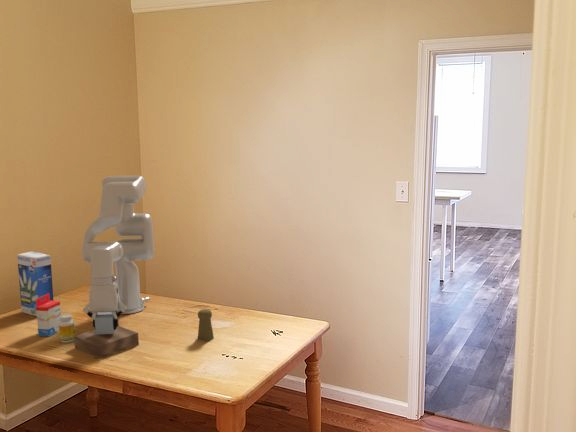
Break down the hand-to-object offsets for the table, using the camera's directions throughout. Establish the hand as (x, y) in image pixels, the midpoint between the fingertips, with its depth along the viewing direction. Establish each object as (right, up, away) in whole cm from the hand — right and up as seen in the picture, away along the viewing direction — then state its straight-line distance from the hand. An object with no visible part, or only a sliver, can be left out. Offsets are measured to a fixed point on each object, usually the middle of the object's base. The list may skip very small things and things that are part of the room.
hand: (106, 328), depth 206 cm
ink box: (-27, -5, +16) cm, 31 cm away
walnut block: (0, -7, +1) cm, 7 cm away
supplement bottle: (-17, -6, +7) cm, 19 cm away
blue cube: (0, -1, 0) cm, 1 cm away
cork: (+35, -5, +8) cm, 36 cm away
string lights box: (-42, -1, +40) cm, 58 cm away
